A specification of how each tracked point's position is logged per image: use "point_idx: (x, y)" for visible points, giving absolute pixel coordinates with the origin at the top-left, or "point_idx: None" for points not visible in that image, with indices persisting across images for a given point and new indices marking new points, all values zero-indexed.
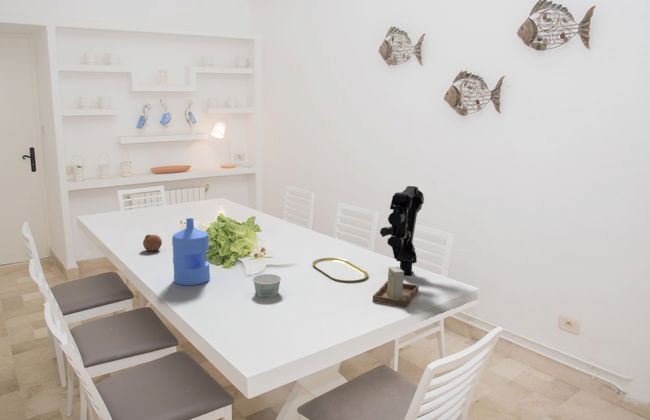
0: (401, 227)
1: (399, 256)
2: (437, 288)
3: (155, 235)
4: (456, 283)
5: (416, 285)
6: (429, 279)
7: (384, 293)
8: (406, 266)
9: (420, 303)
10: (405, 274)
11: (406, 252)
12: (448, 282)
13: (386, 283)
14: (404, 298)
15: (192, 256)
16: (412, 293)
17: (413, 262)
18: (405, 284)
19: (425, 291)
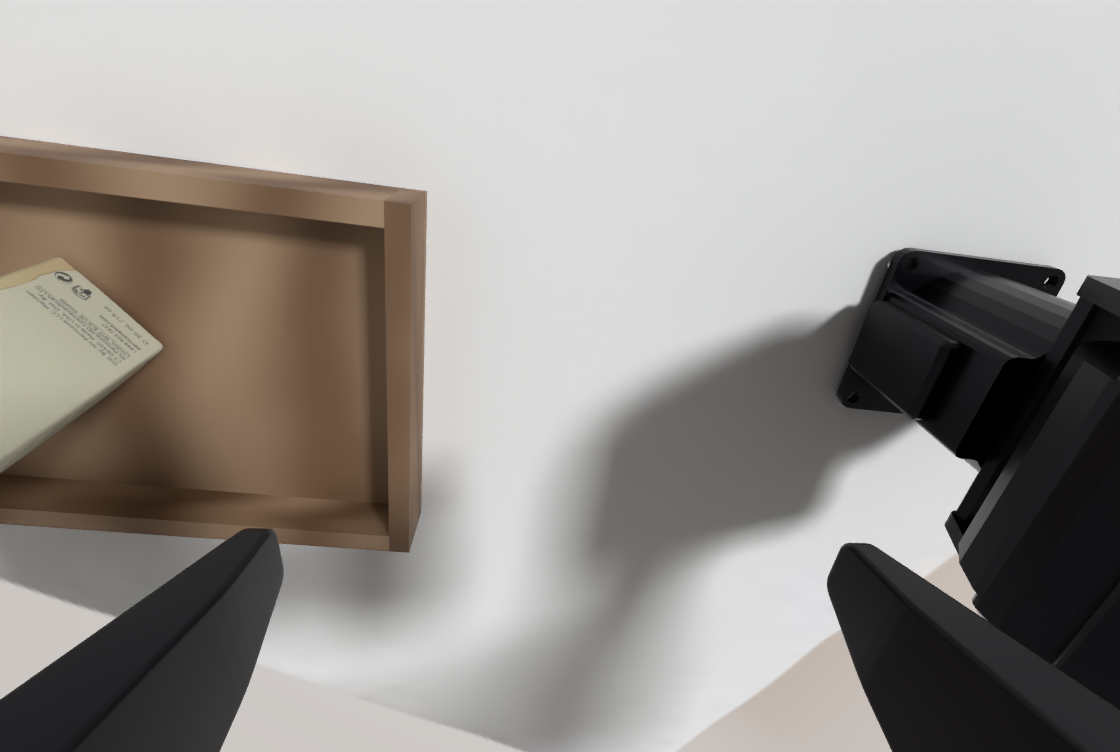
0: None
1: (1072, 393)
2: (557, 621)
3: None
4: (714, 705)
5: (404, 534)
6: (774, 554)
7: (92, 216)
8: (916, 415)
9: (134, 554)
10: (852, 356)
11: (1089, 588)
12: (725, 667)
13: (284, 212)
14: (105, 442)
15: None
16: (146, 530)
17: (952, 532)
18: (388, 435)
19: (444, 557)
